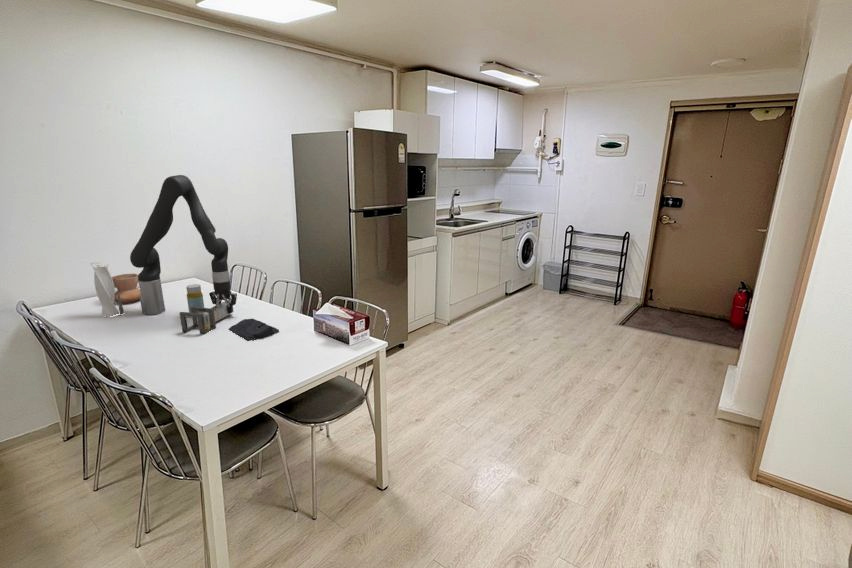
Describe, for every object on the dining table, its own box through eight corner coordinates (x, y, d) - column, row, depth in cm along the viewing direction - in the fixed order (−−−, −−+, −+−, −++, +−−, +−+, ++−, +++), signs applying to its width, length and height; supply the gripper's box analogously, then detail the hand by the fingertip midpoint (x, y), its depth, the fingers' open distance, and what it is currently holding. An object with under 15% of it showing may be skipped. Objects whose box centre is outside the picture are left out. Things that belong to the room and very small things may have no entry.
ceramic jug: (142, 294, 249) (138, 270, 245) (151, 300, 239) (147, 275, 235) (105, 302, 236) (99, 276, 232) (112, 308, 226) (107, 282, 222)
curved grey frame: (182, 332, 197) (179, 312, 194) (195, 325, 205) (192, 306, 202) (204, 334, 195) (201, 314, 192) (216, 327, 203) (213, 308, 200)
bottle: (208, 312, 222) (204, 284, 218) (199, 317, 216) (195, 288, 211) (195, 311, 223) (191, 283, 219) (186, 316, 216) (182, 287, 212)
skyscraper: (108, 319, 212) (97, 263, 204) (96, 317, 214) (85, 262, 206) (125, 314, 219) (115, 259, 212) (113, 312, 222) (102, 258, 214)
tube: (207, 326, 201) (205, 316, 199) (197, 325, 202) (195, 315, 200) (233, 311, 220) (232, 302, 218) (224, 311, 221) (223, 301, 219)
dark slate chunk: (257, 321, 213) (256, 312, 211) (281, 333, 199) (281, 323, 197) (225, 330, 201) (224, 320, 200) (249, 343, 188) (248, 333, 186)
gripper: (203, 280, 210) (207, 314, 215) (229, 282, 208) (233, 316, 212) (213, 276, 217) (217, 309, 222) (239, 278, 215) (242, 311, 219)
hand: (225, 312), depth 217 cm, fingers closed on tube, 5 cm apart
